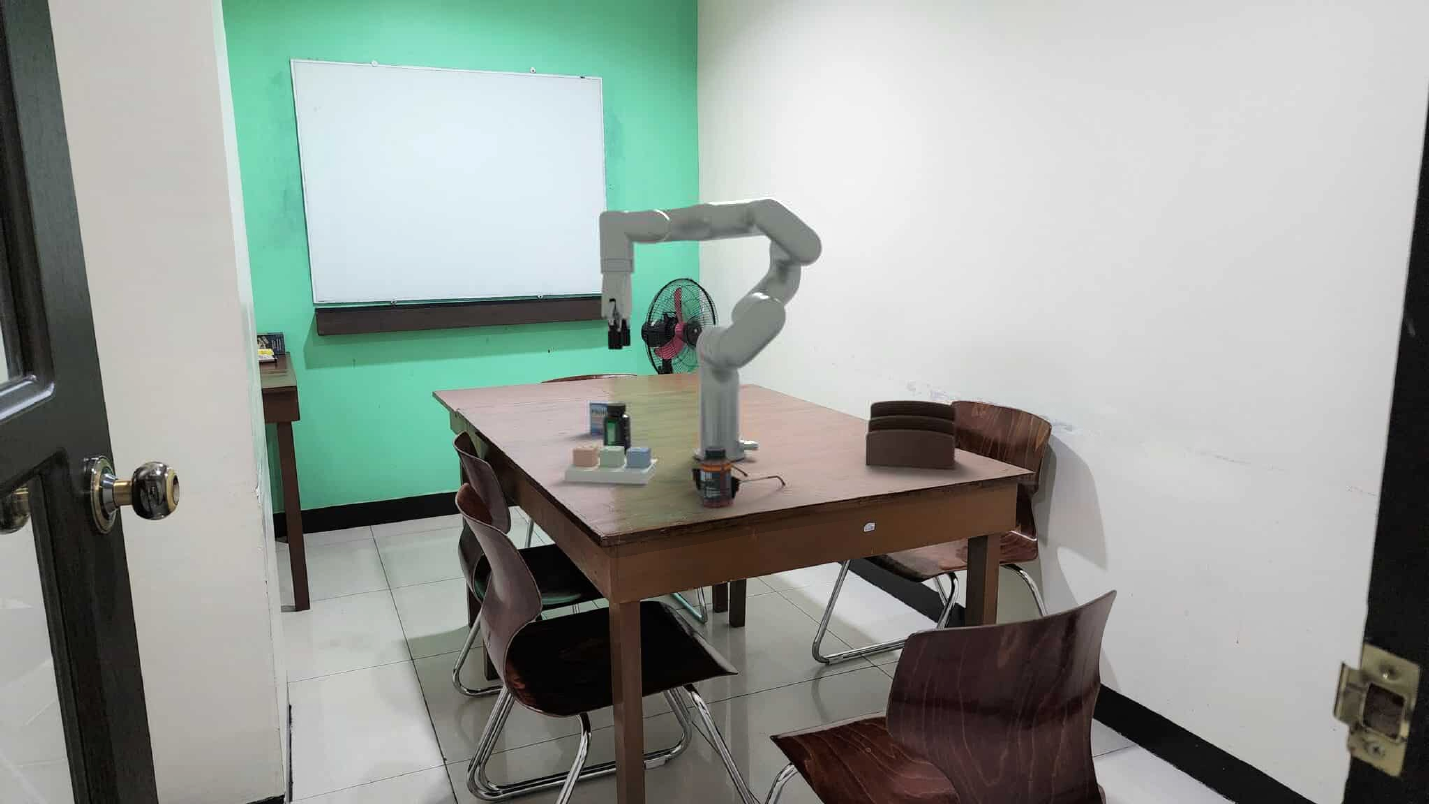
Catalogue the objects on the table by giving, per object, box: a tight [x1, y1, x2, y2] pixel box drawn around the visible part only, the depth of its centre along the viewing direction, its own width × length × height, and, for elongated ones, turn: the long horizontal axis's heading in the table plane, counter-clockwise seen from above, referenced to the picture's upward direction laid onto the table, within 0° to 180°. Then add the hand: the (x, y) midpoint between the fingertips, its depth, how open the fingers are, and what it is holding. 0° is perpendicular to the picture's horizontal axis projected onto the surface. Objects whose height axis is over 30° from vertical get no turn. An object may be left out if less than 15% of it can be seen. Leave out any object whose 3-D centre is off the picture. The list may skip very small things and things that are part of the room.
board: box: [564, 457, 659, 485], centre depth 191 cm, size 18×12×2 cm, turn 81°
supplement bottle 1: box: [602, 402, 632, 455], centre depth 213 cm, size 7×7×12 cm
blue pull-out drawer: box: [625, 446, 652, 469], centre depth 190 cm, size 4×4×4 cm
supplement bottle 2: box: [700, 446, 733, 509], centre depth 168 cm, size 6×6×11 cm
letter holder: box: [865, 400, 957, 470], centre depth 200 cm, size 10×20×14 cm, turn 74°
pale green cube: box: [598, 446, 625, 468], centre depth 190 cm, size 4×4×4 cm
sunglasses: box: [690, 464, 786, 500], centre depth 181 cm, size 14×16×5 cm
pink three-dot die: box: [572, 444, 599, 467], centre depth 191 cm, size 4×4×4 cm
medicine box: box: [589, 400, 623, 435], centre depth 236 cm, size 8×4×9 cm, turn 73°
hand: (619, 346), depth 195 cm, fingers open, 6 cm apart
